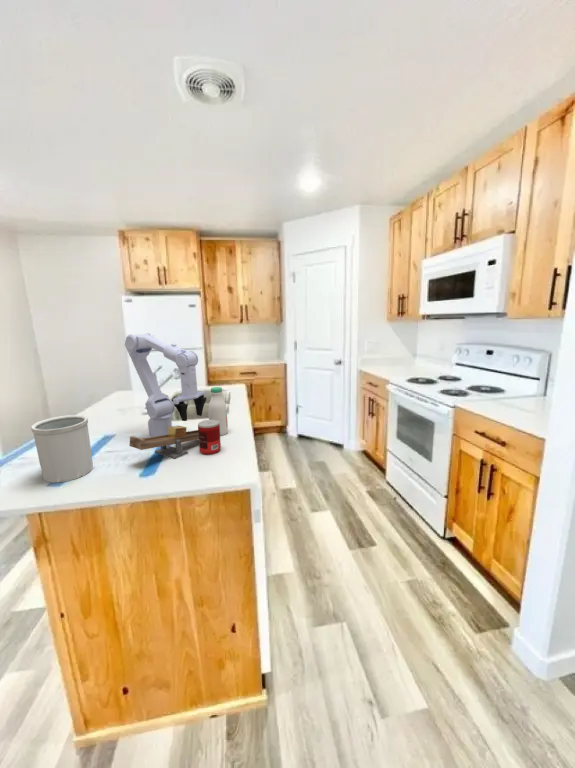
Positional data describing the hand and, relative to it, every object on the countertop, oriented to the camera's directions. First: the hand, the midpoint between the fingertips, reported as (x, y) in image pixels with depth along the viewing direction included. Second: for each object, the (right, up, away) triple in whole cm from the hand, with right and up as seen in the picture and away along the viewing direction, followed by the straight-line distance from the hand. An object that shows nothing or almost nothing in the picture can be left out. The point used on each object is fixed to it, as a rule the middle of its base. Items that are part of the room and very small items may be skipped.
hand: (192, 418), depth 130 cm
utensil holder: (-34, -16, -21) cm, 43 cm away
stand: (-6, -12, -6) cm, 15 cm away
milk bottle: (+7, -8, +14) cm, 18 cm away
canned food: (+8, -12, -5) cm, 15 cm away
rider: (-4, -7, -5) cm, 9 cm away
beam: (-5, -8, -6) cm, 11 cm away
